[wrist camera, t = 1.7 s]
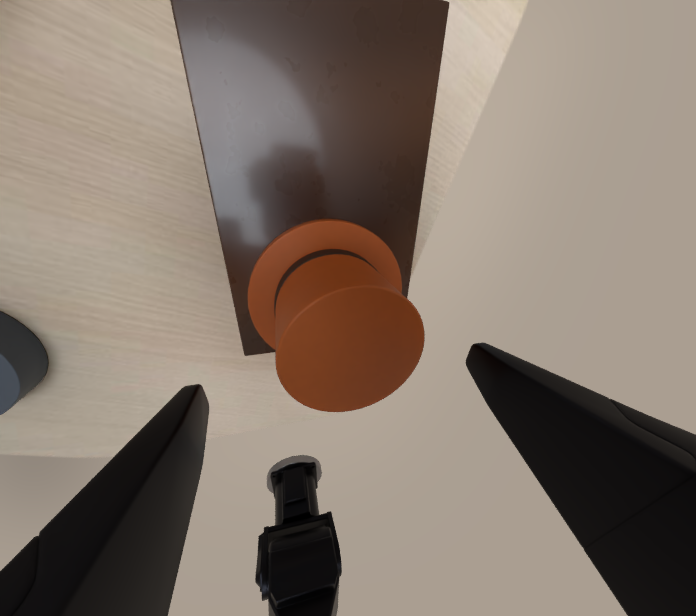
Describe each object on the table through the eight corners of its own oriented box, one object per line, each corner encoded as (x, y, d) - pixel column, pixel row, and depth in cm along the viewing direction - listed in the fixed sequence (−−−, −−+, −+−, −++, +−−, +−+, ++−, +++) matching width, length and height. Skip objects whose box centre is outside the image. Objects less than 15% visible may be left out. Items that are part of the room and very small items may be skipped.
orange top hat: (390, 347, 15) (434, 413, 11) (260, 366, 14) (253, 453, 9) (405, 217, 12) (479, 239, 8) (234, 219, 10) (204, 250, 6)
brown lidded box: (361, 282, 23) (405, 335, 15) (255, 290, 21) (244, 356, 13) (371, 84, 17) (455, 1, 9) (220, 66, 14) (156, -63, 7)
